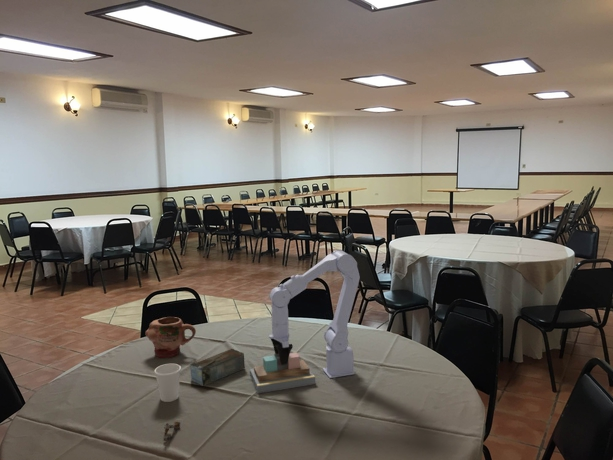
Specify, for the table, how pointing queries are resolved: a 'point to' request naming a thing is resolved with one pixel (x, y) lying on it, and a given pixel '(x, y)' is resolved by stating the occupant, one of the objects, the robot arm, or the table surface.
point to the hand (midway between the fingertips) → (281, 359)
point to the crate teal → (270, 363)
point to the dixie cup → (168, 381)
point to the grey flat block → (282, 382)
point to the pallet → (281, 371)
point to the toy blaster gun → (167, 426)
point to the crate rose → (294, 361)
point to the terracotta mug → (168, 336)
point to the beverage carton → (217, 367)
